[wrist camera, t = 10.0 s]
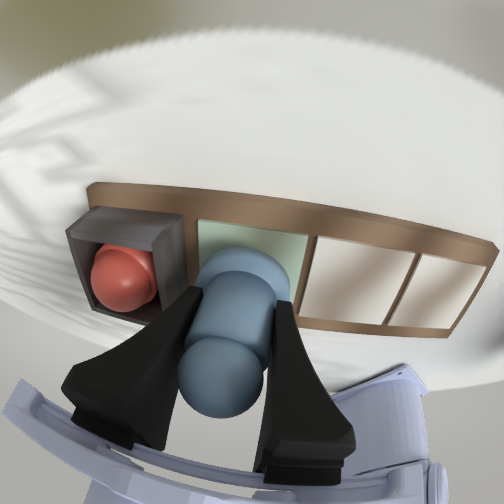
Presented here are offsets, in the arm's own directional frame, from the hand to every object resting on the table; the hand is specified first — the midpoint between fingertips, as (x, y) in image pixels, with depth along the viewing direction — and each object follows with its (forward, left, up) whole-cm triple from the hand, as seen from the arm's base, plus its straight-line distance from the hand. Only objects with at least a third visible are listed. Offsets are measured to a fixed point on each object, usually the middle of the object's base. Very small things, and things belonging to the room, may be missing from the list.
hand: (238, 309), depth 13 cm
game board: (+2, -2, -4) cm, 5 cm away
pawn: (0, 0, -2) cm, 2 cm away
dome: (-4, +5, -3) cm, 7 cm away
